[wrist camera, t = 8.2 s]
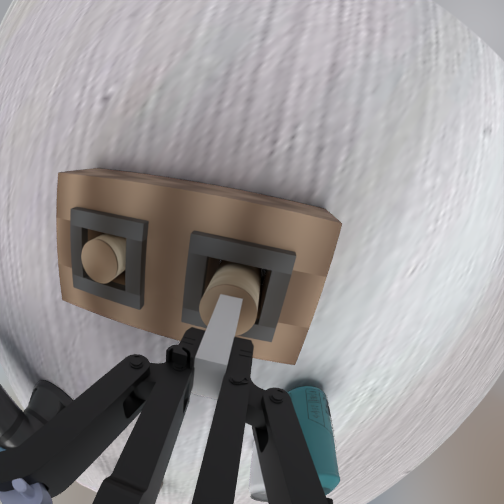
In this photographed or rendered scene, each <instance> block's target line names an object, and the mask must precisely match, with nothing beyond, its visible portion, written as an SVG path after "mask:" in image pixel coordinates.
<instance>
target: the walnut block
mask: <svg viewBox="0 0 504 504" xmlns="http://www.w3.org/2000/svg"><path fill="white" fill-rule="evenodd" d="M56 222H57V252H58V266H59V277H60V285H61V293H62V300H64V301H66V302H69V303H71V304H73V305H76V306H78V307H81V308H83V309H86V310H88V311H91V312H93V313H96V314H99V315H101V316H104V317H107V318H110V319H112V320H115V321H118V322H121V323H124V324H127V325H130V326H133V327H136V328H139V329H142V330H145V331H148V332H151V333H155V334H158V335H161V336H165V337H168V338H172V339H175V340H179V341H181V339H182V337H183V335H184V333H185V331H186V330H188V329H189V328H191V327H194V328H198V329H202V330H206V329H207V326H206V325H205V323H204V322H203V320H202V319H201V316H200V312H199V305H200V301H201V299H202V297H203V295H204V293H205V291H206V289H207V287H208V285H209V284H210V282H211V280H212V278H213V276H214V274H215V272H216V270H217V268H218V266H219V263H220V259H221V260H226V261H230V262H235V263H239V264H244V265H249V266H253V267H258V268H263V269H266V272H265V276H264V280H263V284H262V285H261V284H260V292H259V301H258V309H257V317H256V321H255V323H254V325H253V326H252V327H251V328H250V329H249V330H248V331H247V332H245V333H243V334H241V335H237V336H235V337H239V338H243V339H248V340H251V341H252V343H253V345H254V350H253V358H256V359H262V360H267V361H273V362H279V363H285V364H291V365H295V364H296V361H297V359H298V356H299V353H300V351H301V348H302V346H303V343H304V340H305V338H306V335H307V332H308V330H309V327H310V324H311V321H312V319H313V316H314V313H315V310H316V307H317V304H318V301H319V298H320V296H321V293H322V290H323V286H324V283H325V280H326V277H327V274H328V271H329V268H330V264H331V261H332V258H333V254H334V251H335V248H336V244H337V241H338V237H339V234H340V230H341V226H342V223H341V222H340V221H339V220H338V219H337V218H335V217H334V216H333V215H332V214H331V213H330V212H328V211H327V210H326V209H323V208H319V207H315V206H311V205H307V204H303V203H298V202H294V201H290V200H285V199H281V198H276V197H272V196H267V195H262V194H258V193H253V192H248V191H243V190H238V189H233V188H228V187H222V186H217V185H211V184H206V183H200V182H194V181H188V180H182V179H176V178H169V177H163V176H156V175H149V174H141V173H134V172H126V171H118V170H109V169H100V168H94V169H84V170H75V171H67V172H59V173H58V185H57V215H56ZM105 233H107V234H111V235H116V236H120V237H124V238H126V265H125V270H124V271H123V272H122V273H121V274H119V275H118V276H117V277H115V278H114V279H113V280H112V281H110V282H109V283H104V284H103V283H98V282H96V281H94V280H93V279H92V278H90V276H89V275H88V274H87V273H86V271H85V269H84V267H83V264H82V259H81V254H82V249H83V247H84V245H85V244H86V243H87V242H88V241H90V240H92V239H94V238H96V237H98V236H100V235H102V234H105Z"/></svg>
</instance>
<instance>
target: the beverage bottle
mask: <svg viewBox="0 0 504 504" xmlns="http://www.w3.org/2000/svg"><path fill="white" fill-rule="evenodd" d="M288 394H289V396H290V397H291V400H292V403H293V406H294V409H295V412H296V415H297V417H298V420H299V423H300V426H301V429H302V432H303V434H304V437H305V440H306V443H307V446H308V449H309V451H310V454H311V457H312V460H313V463H314V465H315V468H316V471H317V474H318V476H319V479H320V482H321V485H322V488H323V490H324V493H325V495H327V494H329V493H330V492H331V491H332V490H333V489H334V488H335V487H336V486H337V485H338V484H339V482H340V477H339V473H338V466H337V459H336V452H335V444H334V439H335V438H333V437H334V436H333V435H334V434H333V432H332V429H333V428H332V426H333V425H332V426H331V422H332V420H330V417H331V415H330V409H329V406H328V404H329V403H328V401H327V400H328V399H326V398H327V397H326V394H324V392H323V391H322V390H320V389H319V388H316V387H312V386H302V387H298V388H295V389H292V390H291V391H289V392H288ZM333 431H334V430H333ZM335 442H336V441H335ZM326 499H327V501H328V504H333V500H332V499H330V498H326Z"/></svg>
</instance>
